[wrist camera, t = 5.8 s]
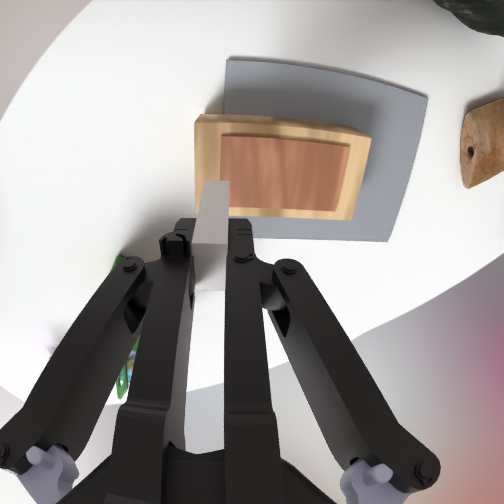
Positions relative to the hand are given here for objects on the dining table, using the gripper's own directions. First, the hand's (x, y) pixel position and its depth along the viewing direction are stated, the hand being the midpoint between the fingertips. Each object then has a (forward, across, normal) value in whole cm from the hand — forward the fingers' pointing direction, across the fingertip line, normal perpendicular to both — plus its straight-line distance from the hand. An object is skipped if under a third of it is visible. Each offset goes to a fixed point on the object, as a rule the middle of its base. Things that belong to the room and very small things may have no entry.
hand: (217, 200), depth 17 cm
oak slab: (+7, -2, 0) cm, 7 cm away
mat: (+10, +10, 0) cm, 14 cm away
